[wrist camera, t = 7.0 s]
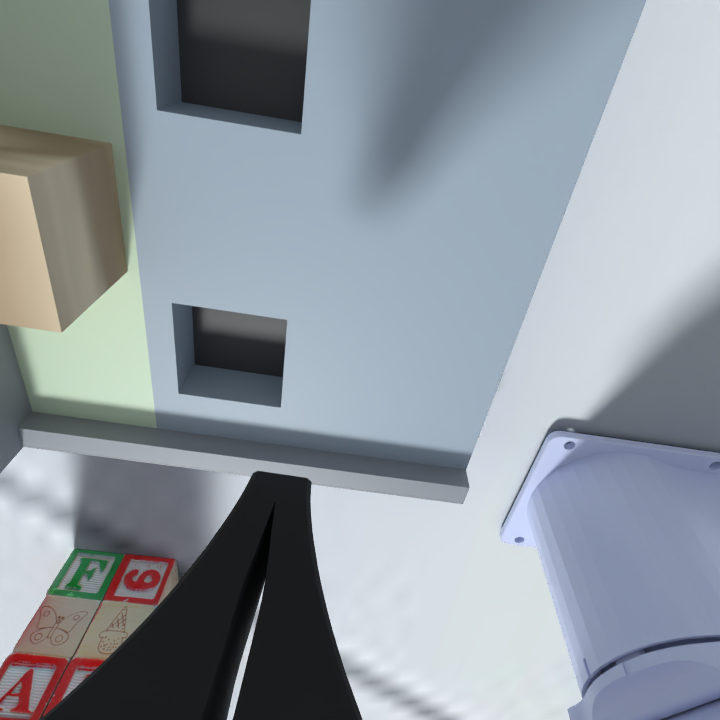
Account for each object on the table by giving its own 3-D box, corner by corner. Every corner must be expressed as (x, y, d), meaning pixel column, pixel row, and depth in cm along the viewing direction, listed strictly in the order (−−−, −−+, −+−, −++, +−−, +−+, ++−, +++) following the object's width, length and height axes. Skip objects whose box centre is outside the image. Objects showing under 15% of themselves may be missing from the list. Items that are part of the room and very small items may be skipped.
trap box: (653, -130, 12) (792, -214, 8) (452, 445, 23) (468, 534, 19) (-133, -289, 11) (-433, -477, 7) (47, 390, 22) (-29, 471, 18)
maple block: (111, 143, 14) (26, 176, 11) (127, 271, 16) (61, 333, 13) (-33, 118, 14) (-165, 146, 10) (3, 252, 16) (-96, 309, 13)
